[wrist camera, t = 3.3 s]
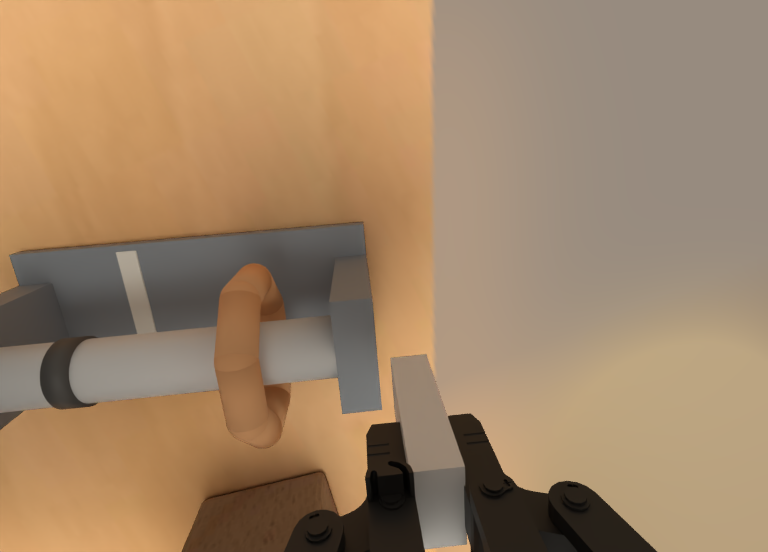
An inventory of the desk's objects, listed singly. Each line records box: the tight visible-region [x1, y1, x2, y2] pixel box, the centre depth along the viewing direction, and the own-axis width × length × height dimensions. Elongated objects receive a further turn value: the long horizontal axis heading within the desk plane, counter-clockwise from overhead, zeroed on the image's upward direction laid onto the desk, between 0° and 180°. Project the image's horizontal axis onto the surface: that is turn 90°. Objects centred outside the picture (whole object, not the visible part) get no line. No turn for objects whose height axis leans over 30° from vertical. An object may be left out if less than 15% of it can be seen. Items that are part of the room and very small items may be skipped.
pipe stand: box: [0, 222, 382, 430], centre depth 24 cm, size 22×10×10 cm, turn 94°
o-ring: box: [214, 263, 290, 448], centre depth 22 cm, size 2×9×9 cm, turn 4°
